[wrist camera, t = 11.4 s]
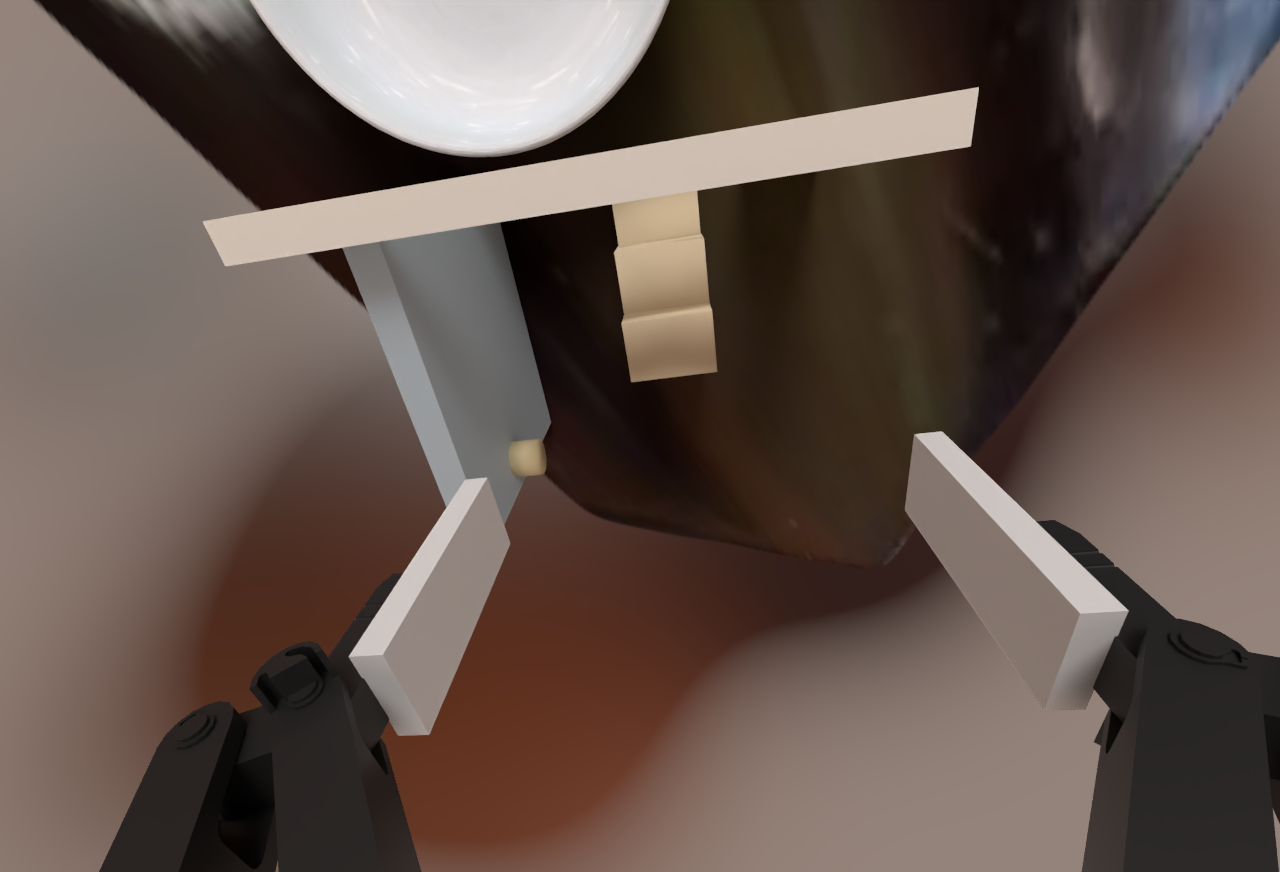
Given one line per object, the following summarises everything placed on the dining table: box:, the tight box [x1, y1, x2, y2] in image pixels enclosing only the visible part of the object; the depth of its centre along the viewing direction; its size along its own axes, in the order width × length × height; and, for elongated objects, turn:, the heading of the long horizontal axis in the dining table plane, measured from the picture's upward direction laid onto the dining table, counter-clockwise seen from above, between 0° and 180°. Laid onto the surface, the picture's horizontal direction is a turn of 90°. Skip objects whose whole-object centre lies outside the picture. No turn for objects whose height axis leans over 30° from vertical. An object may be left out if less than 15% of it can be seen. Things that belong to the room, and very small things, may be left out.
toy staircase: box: [612, 191, 717, 382], centre depth 30 cm, size 10×5×8 cm, turn 8°
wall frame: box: [203, 87, 979, 266], centre depth 23 cm, size 25×2×17 cm, turn 98°
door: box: [343, 222, 551, 524], centre depth 29 cm, size 16×3×15 cm, turn 8°
